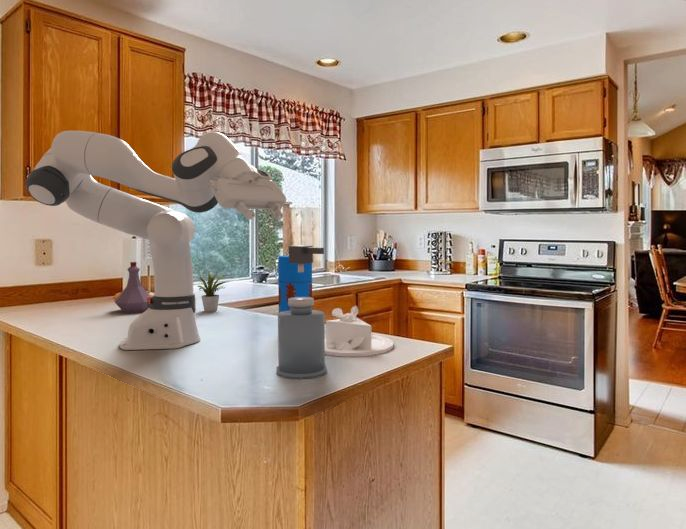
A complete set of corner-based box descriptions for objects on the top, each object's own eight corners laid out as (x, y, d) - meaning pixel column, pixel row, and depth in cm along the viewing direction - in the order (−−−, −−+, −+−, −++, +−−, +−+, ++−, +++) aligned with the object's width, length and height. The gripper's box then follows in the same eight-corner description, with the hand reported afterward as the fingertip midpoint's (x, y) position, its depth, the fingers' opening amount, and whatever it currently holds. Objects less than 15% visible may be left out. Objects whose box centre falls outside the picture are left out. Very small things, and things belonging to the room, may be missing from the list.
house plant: (211, 315, 198) (210, 273, 196) (184, 312, 204) (183, 272, 202) (234, 309, 211) (233, 270, 209) (208, 307, 216) (207, 269, 215)
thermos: (307, 337, 158) (306, 257, 156) (274, 335, 160) (273, 256, 158) (315, 330, 169) (315, 255, 167) (285, 329, 171) (284, 254, 169)
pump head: (288, 272, 119) (288, 245, 118) (300, 271, 122) (300, 245, 122) (316, 274, 114) (316, 246, 113) (327, 273, 117) (327, 246, 116)
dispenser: (265, 372, 120) (264, 299, 119) (300, 362, 130) (299, 293, 128) (303, 382, 113) (302, 304, 111) (337, 370, 122) (336, 298, 121)
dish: (291, 345, 150) (291, 307, 149) (357, 333, 165) (357, 299, 164) (342, 362, 130) (342, 319, 129) (411, 348, 145) (411, 309, 144)
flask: (163, 310, 210) (162, 262, 208) (124, 315, 197) (122, 264, 196) (144, 306, 221) (142, 260, 219) (106, 311, 208) (104, 262, 207)
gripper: (211, 167, 121) (239, 207, 115) (273, 173, 137) (300, 209, 131) (200, 187, 124) (227, 227, 119) (262, 191, 140) (288, 226, 135)
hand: (266, 217), depth 125 cm, fingers open, 8 cm apart
